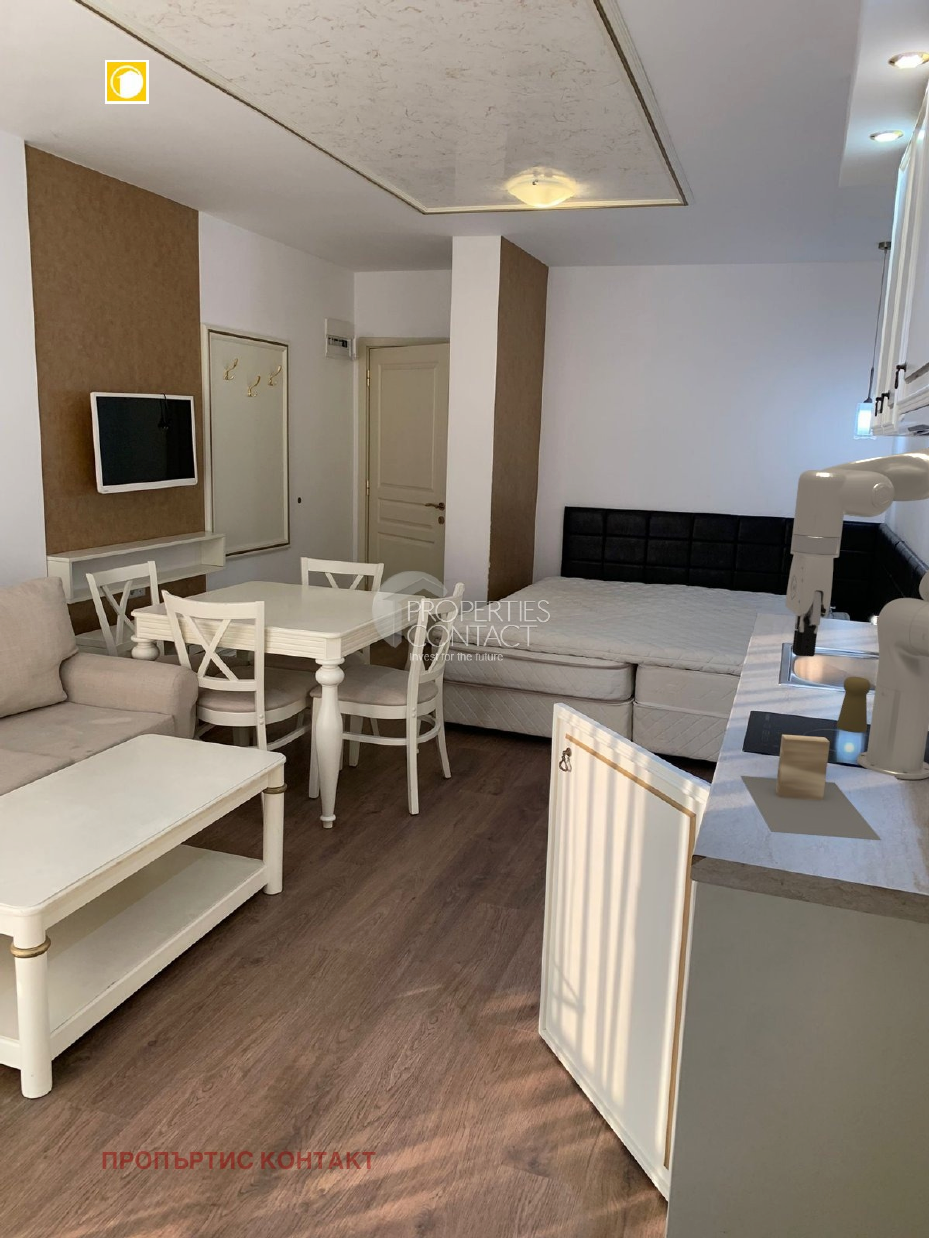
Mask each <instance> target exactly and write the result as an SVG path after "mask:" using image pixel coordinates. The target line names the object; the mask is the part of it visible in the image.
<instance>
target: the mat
mask: <svg viewBox="0 0 929 1238" xmlns="http://www.w3.org/2000/svg"><path fill="white" fill-rule="evenodd" d="M740 778H741V780H742V782H743V784H744V786H745V787H746V789H747V791H748V793H749V794H750V796H751V798H752V799H753V802H754V803H755V806H756V807H757V808H758V810H759V812H760V814H761V816H762V817H763V820H764V821H765V823H766V825H767V827H768V828H769V830H770V832H771V833H783V834H794V835H795V834H796V835H799V834H800V835H807V836H808V835H809V836H819V837H820V836H821V837H822V836H823V837H836V838H846V839H847V838H849V839H858V840H859V839H860V840H861V839H862V840H873V841H882V839H881V837H880V836H879V834H877V832H876V831H875V830H874V829H873V827H871V825H870V824H869V823H868V821H866V819H865V818H864V816H863V815H862V814H861V813H860V812H859V810H857V808H856V807H855V805H854V804H853V803H852V802H851V800H850V799H848V797H847V796H846V795H845V794H844V793H843V791H842V790H841V788H840V787H839V786H838V784H836V783H835V782H831V781H825V786H824V794H823V801H822V800H809V799H796V798H782V797H779V796H778V795H777V793H776V784H777V777H764V776H763V777H761V776H752V775H751V776H749V775H748V776H747V775H740Z"/></svg>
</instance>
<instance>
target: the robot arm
mask: <svg viewBox="0 0 929 1238" xmlns="http://www.w3.org/2000/svg"><path fill="white" fill-rule="evenodd" d="M927 499H929V447H925V448H921V449H919V450H913V451H909V452H908V451H907V452H902V453H895V454H891V455H884V456H879V457H872V458H865V459H859V460H853V461H849V462H844V463H841V464H837V465H832V466H829V467H826V468H823V469H821V470H819V469H817V470H805V471H803V472H801V474H800V475H799V477H798V482H797V491H796V500H795V510H794V519H793V528H792V537H791V543H790V544H791V546H790V554H791V555H793V557H792V561H791V565H790V569H789V576H788V577H789V578H788V584H787V589H786V595H785V602H784V603H785V607H786V608H787V609H788V610H789V611H791V612H792V613H793V614H795V620H794V621H795V622H794V623H795V624H794V632H793V641H792V650H791V652H792V653H793V654H794V655H795V656H798V657H811V658H812V657H814V656H816V655H815V654H816V646H817V637H818V636H817V635H818V630H819V626H820V625H821V618H825V617H826V616H828V615H829V612H830V605H831V598H832V589H833V572H834V559H835V558H839V557H840V549H841V541H842V534H843V533H842V532H843V523H844V516H848V517H849V516H850V517H858V518H874V517H877V516H879V515H882V514H883V513H885V512H886V511H887V510H889V508H890V507H891V506H892V504H893V502H912V501H913V502H916V501H924V500H927ZM918 592H919V595H920V597H921V599H918V598H914V597H913V598H912V597H903V598H902V597H901V598H897V599H894V600H891V601H890V602H888V603H886V604H885V605H884V606H883V608H882V609H881V611H880V612H879V614H878V618H877V623H876V624H877V625H876V627H877V631H876V632H877V640H878V641H877V642H878V662H877V673H876V680H875V681H876V682H875V689H874V697H873V706H872V710H871V711H872V712H871V721H870V728H869V735H868V745H867V751H865V752H864V751H863V752H861V753H859V754H858V755H857V757H856V763H857V764H859V765H860V766H862V767H863V768H865V769H868V770H870V771H872V772H876V773H879V774H883V775H887V776H892V777H894V778H895V779H900V780H922V779H926V778H929V763H928V762H925V760H924V759H925V754H926V753H925V752H926V744H927V739H928V733H929V732H928V731H929V569H928V570H927V571H926V572H925V574H924V575H923V576H922V579H921V580H920V584H919V587H918Z"/></svg>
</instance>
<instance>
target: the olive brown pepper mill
mask: <svg viewBox="0 0 929 1238" xmlns="http://www.w3.org/2000/svg"><path fill="white" fill-rule="evenodd" d="M843 689H844V691H845V693H844V697H843V701H842V705H841V707H840V711H839V715H838V719H837V723H836V728H837V729H839V730H841V731H844V732H848V733H849V732H850V733H858V734H861V733H862V734H863V733H866V732H867V731H868V719H867V718H868V716H867V715H868V713H867V712H868V709H867V708H868V706H867V702H868V701H867V700H868V699H867V697H868V696H867V695H868V694H869V693H870V690H871V682H870V680H869V679H867V678H865V677H861V676H848V677H846V678H845V680H844V682H843Z"/></svg>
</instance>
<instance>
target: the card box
mask: <svg viewBox="0 0 929 1238" xmlns="http://www.w3.org/2000/svg"><path fill="white" fill-rule="evenodd" d="M830 743H831V742H830V741H829V740H828V739H827V738H826V737H822V736H808V735H794V734H793V735H792V734H781V740H780V748H779V749H780V751H779V758H778V759H779V760H778V765H777V767H778V768H777V777H776V778H777V784H776V793H777V795H778V796H779V797H782V798H796V799H809V800H822V801H823V794H824V786H825V782H826V777H827V770H828V761H829V752H830V746H831V745H830Z"/></svg>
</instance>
